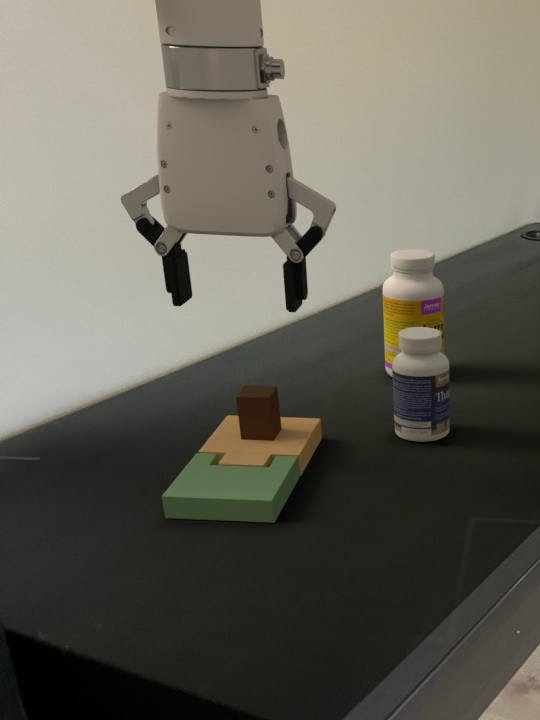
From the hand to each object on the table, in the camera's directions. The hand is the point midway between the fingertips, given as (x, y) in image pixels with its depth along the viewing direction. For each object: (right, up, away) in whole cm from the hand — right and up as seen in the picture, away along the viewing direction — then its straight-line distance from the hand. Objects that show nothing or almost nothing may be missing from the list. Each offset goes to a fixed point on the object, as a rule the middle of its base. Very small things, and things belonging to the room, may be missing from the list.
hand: (238, 305), depth 84 cm
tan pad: (0, -12, +6) cm, 14 cm away
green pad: (0, -16, 0) cm, 16 cm away
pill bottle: (+15, -8, +12) cm, 21 cm away
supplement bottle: (+13, +1, +27) cm, 31 cm away
